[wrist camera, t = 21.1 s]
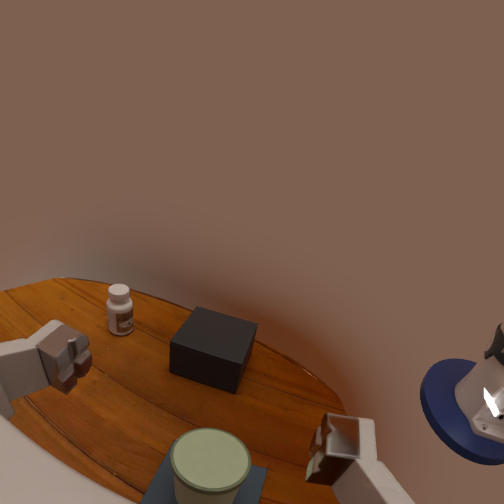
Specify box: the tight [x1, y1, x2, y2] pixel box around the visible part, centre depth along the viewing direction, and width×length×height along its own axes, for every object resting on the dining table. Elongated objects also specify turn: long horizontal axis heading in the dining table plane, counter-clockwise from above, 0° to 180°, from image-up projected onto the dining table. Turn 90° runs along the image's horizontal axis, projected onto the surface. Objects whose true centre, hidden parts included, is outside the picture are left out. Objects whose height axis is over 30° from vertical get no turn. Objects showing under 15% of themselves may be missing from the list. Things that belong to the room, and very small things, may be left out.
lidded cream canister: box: [170, 428, 251, 504], centre depth 22 cm, size 6×6×9 cm
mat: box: [140, 440, 267, 504], centre depth 24 cm, size 11×11×1 cm
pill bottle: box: [107, 284, 133, 335], centre depth 46 cm, size 4×4×8 cm
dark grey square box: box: [169, 306, 258, 393], centre depth 44 cm, size 10×10×6 cm
